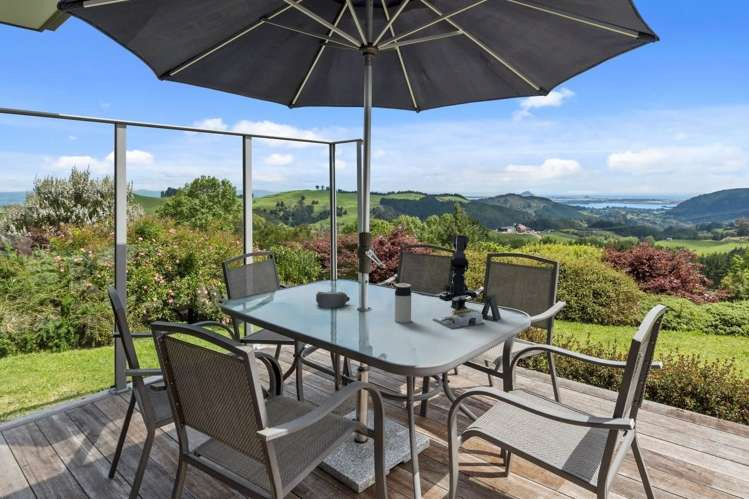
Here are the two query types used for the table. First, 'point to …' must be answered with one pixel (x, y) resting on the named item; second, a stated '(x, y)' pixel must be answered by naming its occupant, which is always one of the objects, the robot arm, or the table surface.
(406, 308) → the travel mug
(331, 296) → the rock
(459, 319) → the frame
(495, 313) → the phone stand
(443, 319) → the plate
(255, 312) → the table surface
